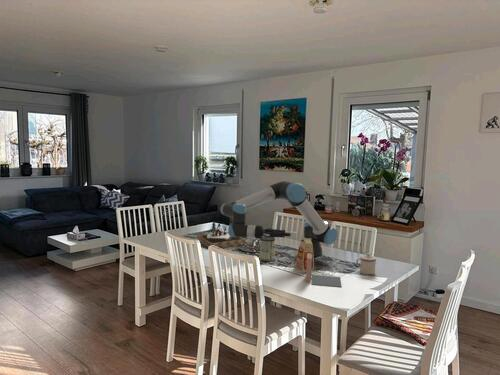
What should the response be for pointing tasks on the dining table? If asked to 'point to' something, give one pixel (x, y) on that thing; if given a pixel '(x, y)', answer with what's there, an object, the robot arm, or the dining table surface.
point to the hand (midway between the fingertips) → (296, 234)
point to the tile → (309, 268)
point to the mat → (326, 281)
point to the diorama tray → (237, 242)
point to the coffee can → (267, 248)
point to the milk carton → (304, 254)
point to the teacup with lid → (367, 264)
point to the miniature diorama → (218, 234)
